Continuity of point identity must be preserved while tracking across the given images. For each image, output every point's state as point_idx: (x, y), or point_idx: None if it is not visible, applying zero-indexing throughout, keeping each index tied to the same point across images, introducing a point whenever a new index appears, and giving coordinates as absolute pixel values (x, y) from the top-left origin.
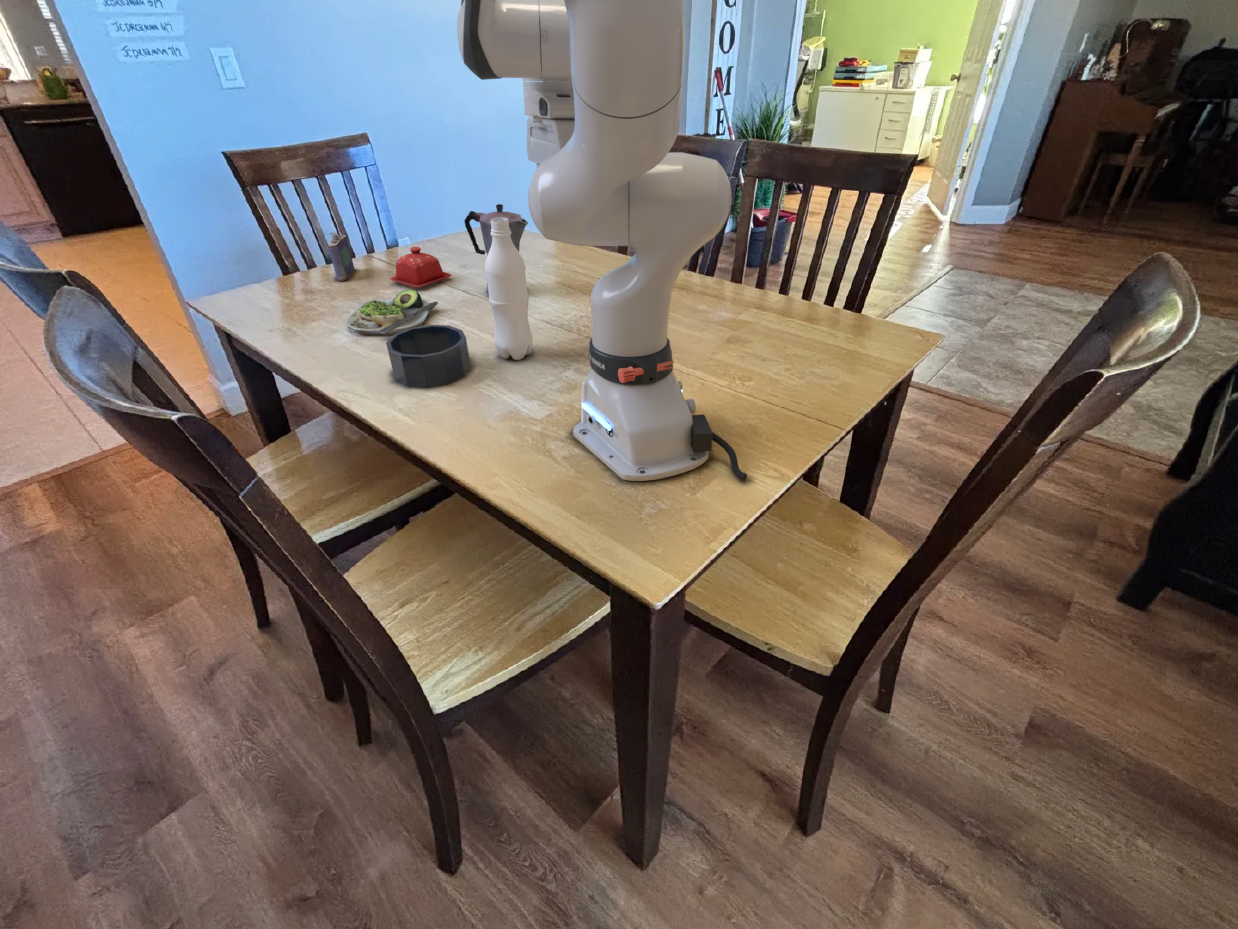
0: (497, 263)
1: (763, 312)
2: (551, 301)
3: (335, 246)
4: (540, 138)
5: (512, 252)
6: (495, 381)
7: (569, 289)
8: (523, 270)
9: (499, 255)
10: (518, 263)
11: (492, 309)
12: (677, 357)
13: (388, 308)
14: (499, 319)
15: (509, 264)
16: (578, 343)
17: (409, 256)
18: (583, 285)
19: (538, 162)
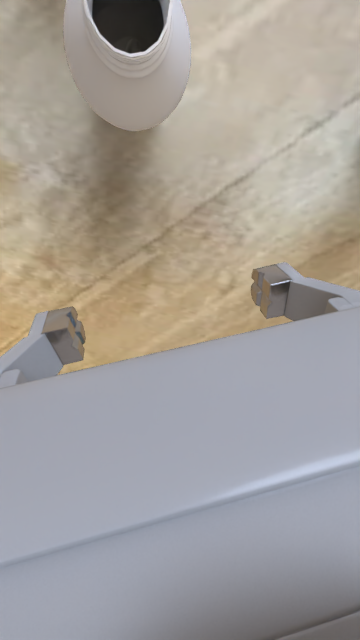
0: (70, 1)
1: None
2: (316, 202)
3: None
4: (343, 476)
5: (94, 76)
6: (18, 18)
7: (343, 238)
8: (102, 118)
9: (76, 9)
10: (90, 100)
11: (115, 14)
12: (86, 320)
13: None
14: (108, 39)
15: (71, 59)
16: (151, 213)
17: None
18: (344, 260)
19: (288, 324)
